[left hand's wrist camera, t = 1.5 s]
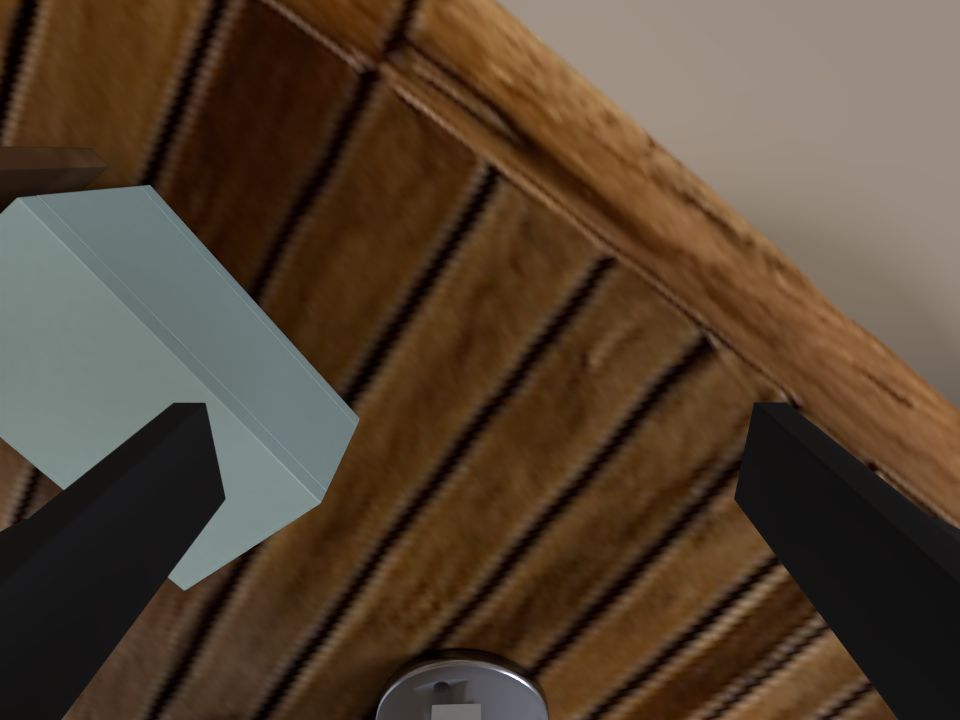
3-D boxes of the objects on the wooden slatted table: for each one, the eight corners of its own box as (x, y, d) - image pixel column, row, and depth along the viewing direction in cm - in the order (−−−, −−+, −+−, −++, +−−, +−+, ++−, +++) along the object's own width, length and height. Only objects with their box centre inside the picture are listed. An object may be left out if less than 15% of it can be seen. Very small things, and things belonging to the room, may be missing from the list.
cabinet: (37, 286, 33) (-125, 334, 24) (150, 184, 31) (16, 196, 22) (252, 491, 39) (183, 591, 30) (360, 418, 37) (321, 503, 28)
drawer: (-95, 165, 30) (-272, 168, 23) (7, 55, 28) (-153, 21, 21) (208, 454, 36) (144, 525, 29) (308, 384, 34) (264, 442, 27)
